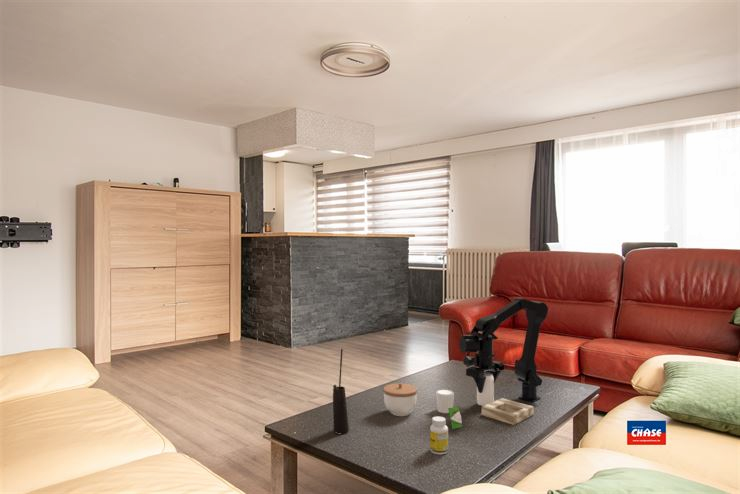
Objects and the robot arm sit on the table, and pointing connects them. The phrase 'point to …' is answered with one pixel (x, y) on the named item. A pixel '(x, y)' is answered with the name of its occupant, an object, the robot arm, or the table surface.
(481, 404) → the can
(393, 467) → the table surface
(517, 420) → the frame
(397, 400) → the lidded bowl
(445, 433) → the supplement bottle
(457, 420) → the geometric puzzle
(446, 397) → the white cup
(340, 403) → the butter churn
